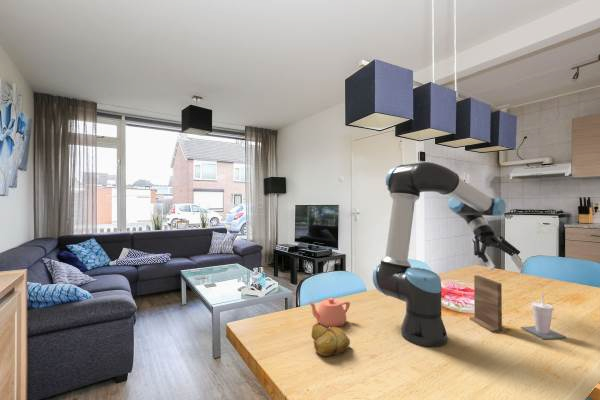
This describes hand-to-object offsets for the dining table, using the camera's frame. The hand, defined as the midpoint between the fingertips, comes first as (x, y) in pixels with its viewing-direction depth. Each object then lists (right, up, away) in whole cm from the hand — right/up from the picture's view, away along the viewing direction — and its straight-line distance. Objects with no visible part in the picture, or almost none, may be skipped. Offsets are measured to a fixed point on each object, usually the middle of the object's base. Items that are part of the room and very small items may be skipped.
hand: (507, 268), depth 119 cm
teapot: (-75, -21, -4) cm, 78 cm away
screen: (-13, -20, -7) cm, 26 cm away
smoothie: (+2, -20, -14) cm, 25 cm away
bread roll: (-76, -21, -26) cm, 83 cm away
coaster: (+3, -20, -14) cm, 25 cm away
